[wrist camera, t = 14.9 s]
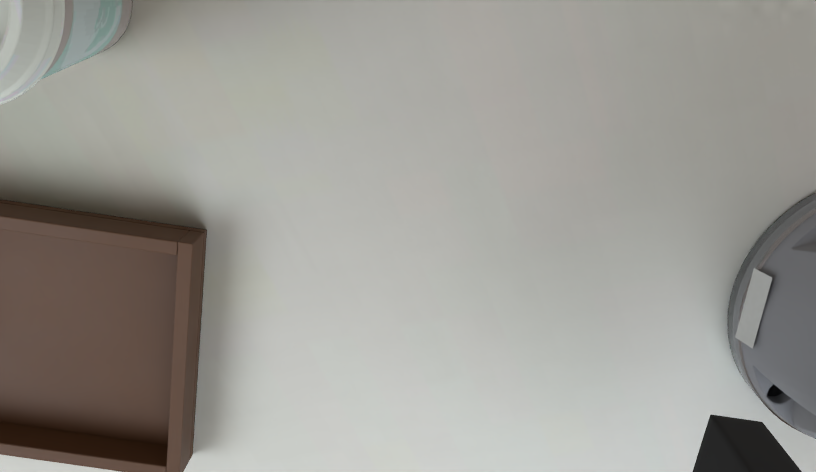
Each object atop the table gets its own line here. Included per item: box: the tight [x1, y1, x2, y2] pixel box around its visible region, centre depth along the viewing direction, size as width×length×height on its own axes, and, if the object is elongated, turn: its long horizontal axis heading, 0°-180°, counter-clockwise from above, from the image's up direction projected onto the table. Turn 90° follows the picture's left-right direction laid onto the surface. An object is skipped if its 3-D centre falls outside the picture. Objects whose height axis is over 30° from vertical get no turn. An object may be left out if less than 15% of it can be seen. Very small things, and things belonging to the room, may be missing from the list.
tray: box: [0, 200, 207, 472], centre depth 41 cm, size 17×15×2 cm
